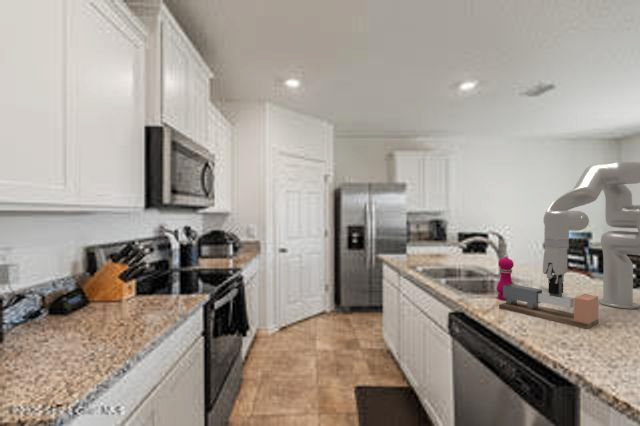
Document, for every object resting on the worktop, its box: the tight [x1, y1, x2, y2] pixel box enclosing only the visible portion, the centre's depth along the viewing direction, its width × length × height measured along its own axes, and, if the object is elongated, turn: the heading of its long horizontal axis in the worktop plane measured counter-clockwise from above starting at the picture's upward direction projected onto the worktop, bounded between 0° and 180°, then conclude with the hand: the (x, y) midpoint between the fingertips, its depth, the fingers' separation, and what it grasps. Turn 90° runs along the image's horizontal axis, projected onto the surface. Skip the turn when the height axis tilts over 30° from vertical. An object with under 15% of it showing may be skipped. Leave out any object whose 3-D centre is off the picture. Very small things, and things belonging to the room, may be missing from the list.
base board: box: [498, 301, 600, 329], centre depth 130 cm, size 11×30×2 cm, turn 35°
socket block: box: [573, 293, 599, 324], centre depth 119 cm, size 10×4×8 cm, turn 125°
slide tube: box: [537, 276, 575, 309], centre depth 130 cm, size 3×19×10 cm, turn 35°
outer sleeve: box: [503, 283, 543, 310], centre depth 137 cm, size 5×12×8 cm, turn 35°
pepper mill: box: [496, 254, 515, 301], centre depth 153 cm, size 7×7×20 cm
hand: (555, 292), depth 127 cm, fingers closed on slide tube, 3 cm apart
